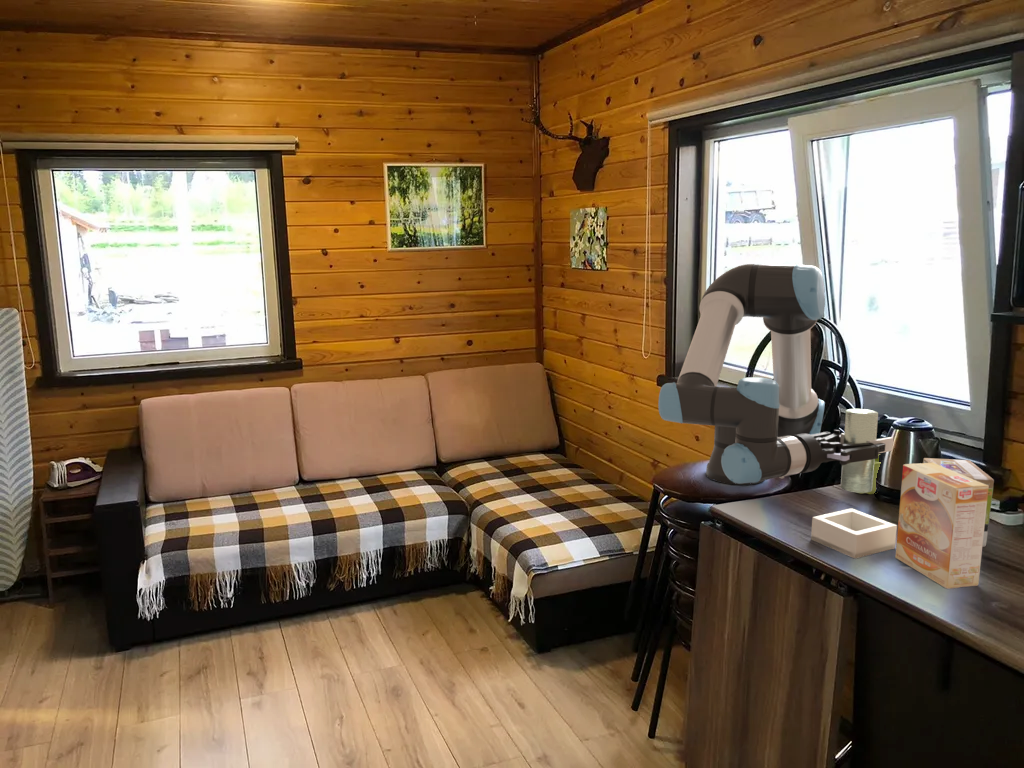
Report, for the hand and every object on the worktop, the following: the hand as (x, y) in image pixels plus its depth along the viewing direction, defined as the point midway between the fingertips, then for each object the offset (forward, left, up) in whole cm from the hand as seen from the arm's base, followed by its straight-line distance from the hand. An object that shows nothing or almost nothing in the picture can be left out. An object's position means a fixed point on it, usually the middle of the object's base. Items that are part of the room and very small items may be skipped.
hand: (877, 440), depth 170 cm
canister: (0, -5, -9) cm, 11 cm away
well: (0, -5, -22) cm, 22 cm away
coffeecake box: (+17, -2, -22) cm, 28 cm away
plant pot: (-23, +25, -22) cm, 41 cm away
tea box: (+5, +18, -22) cm, 29 cm away
